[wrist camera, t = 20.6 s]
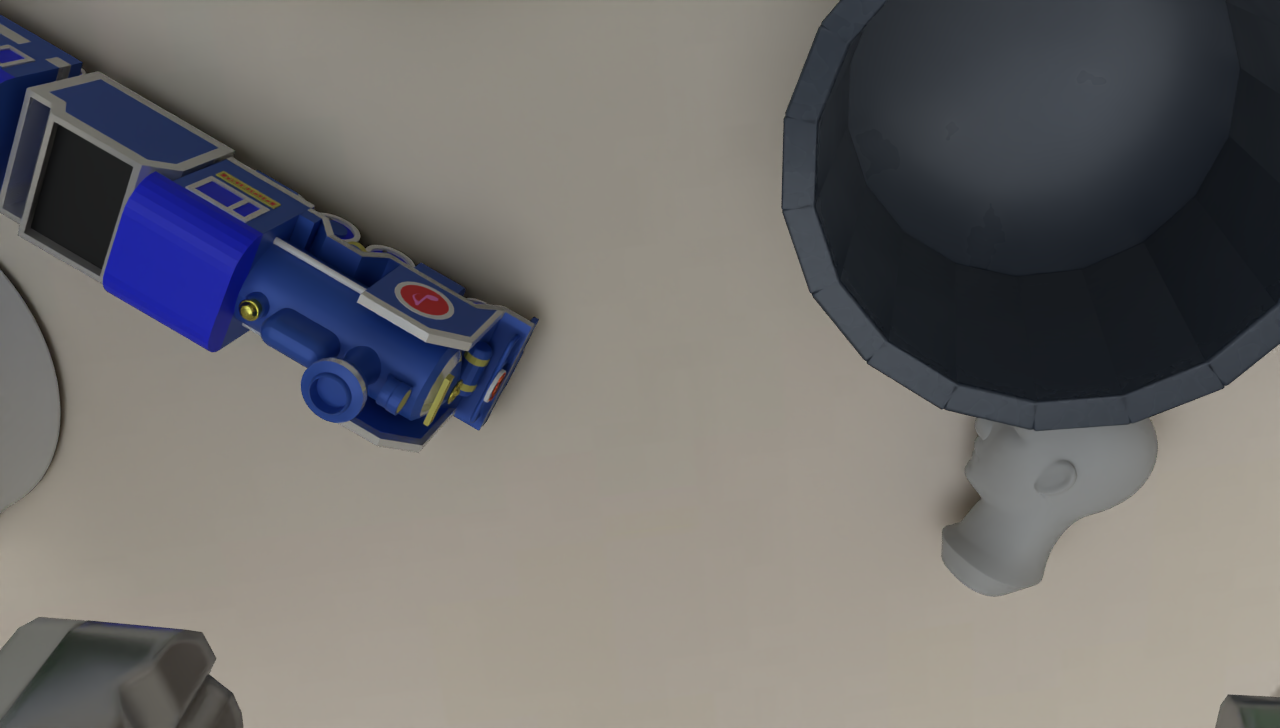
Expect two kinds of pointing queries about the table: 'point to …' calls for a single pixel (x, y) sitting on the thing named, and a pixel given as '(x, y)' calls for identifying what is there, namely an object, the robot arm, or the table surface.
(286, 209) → the toy train
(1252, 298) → the tin
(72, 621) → the robot arm
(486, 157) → the table surface
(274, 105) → the table surface
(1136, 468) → the grey rounded elongated piece
